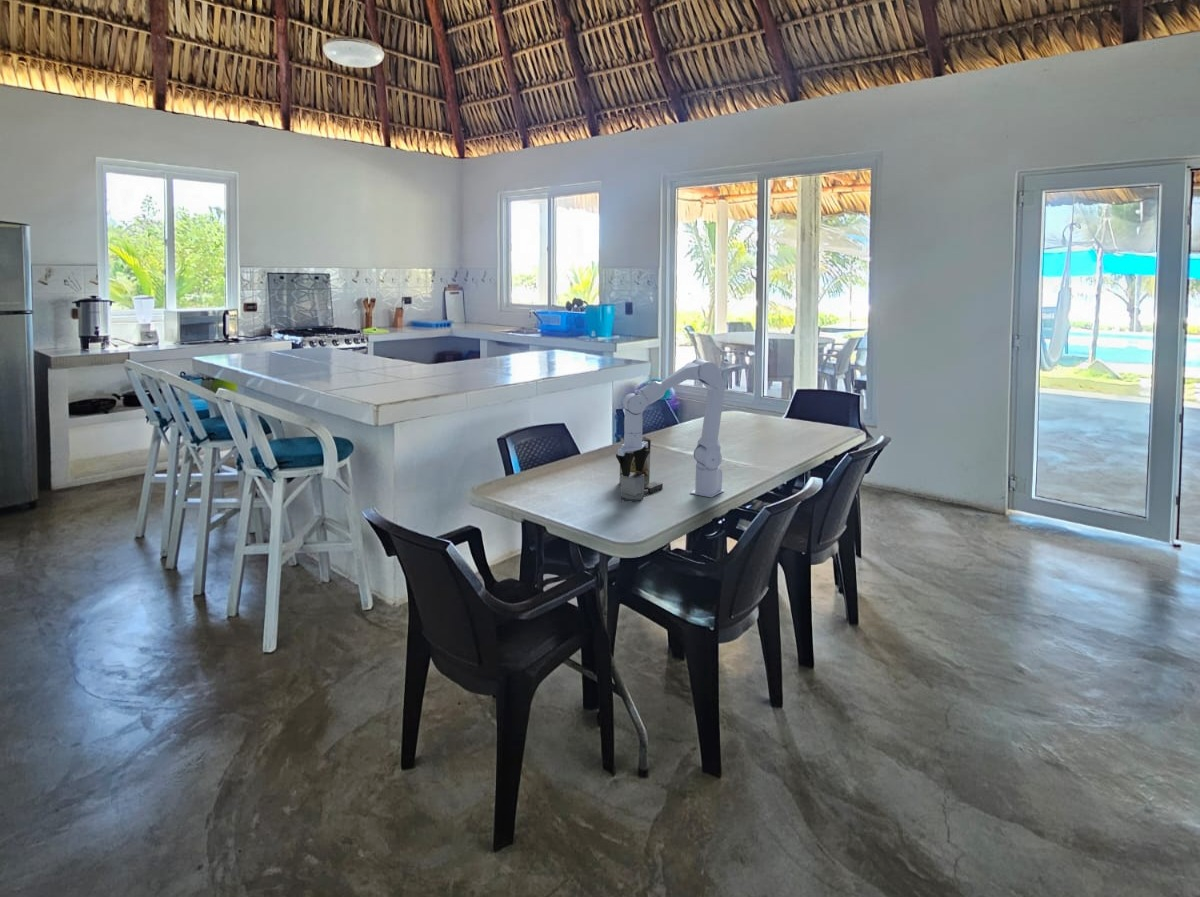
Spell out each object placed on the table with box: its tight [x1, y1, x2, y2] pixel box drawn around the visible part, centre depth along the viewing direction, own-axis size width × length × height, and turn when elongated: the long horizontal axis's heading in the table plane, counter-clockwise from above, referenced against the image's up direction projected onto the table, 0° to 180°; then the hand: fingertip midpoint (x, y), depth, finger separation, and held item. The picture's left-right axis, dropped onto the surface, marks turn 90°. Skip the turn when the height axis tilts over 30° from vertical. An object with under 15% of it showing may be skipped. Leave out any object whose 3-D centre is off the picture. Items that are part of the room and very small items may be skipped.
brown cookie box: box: [619, 436, 652, 485], centre depth 266 cm, size 9×6×16 cm
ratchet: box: [620, 481, 664, 503], centre depth 256 cm, size 20×7×4 cm, turn 144°
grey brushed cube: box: [620, 472, 644, 496], centre depth 250 cm, size 5×5×6 cm
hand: (632, 473), depth 249 cm, fingers open, 7 cm apart
